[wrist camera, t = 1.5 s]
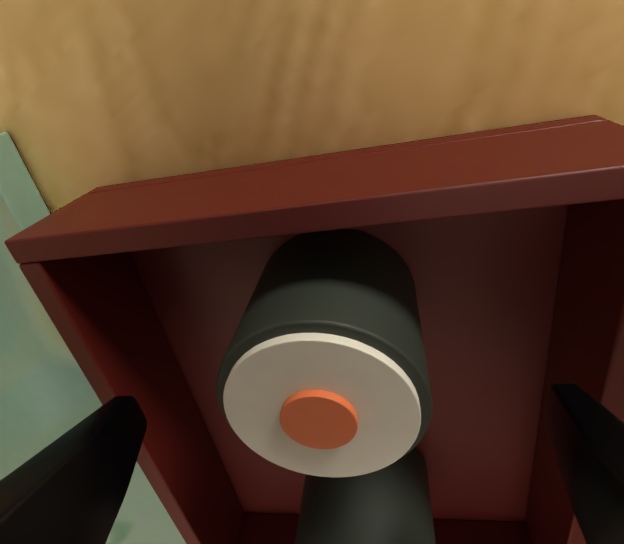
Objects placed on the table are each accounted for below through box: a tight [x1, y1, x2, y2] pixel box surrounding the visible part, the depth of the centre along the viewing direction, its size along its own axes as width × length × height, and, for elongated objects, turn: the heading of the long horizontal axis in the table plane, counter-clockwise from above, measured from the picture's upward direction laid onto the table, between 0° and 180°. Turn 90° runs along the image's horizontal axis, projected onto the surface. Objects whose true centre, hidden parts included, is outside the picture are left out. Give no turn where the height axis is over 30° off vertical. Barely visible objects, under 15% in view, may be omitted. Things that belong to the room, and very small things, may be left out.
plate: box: [0, 132, 186, 544], centre depth 17 cm, size 20×10×1 cm, turn 10°
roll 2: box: [295, 447, 436, 544], centre depth 14 cm, size 5×5×5 cm
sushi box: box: [4, 115, 624, 544], centre depth 13 cm, size 16×13×4 cm
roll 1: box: [216, 229, 433, 477], centre depth 10 cm, size 5×5×5 cm
